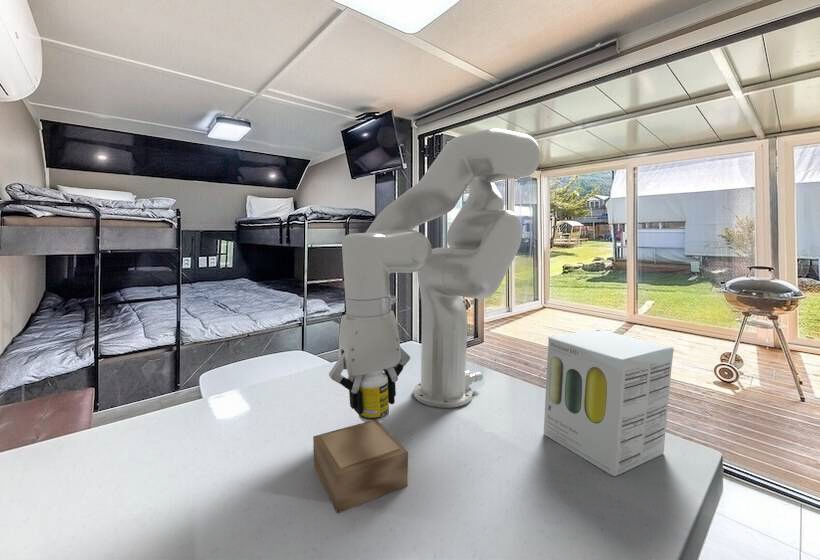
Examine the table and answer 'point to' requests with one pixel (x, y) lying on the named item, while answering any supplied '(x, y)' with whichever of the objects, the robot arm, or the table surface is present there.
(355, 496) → the brown square tray
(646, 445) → the supplement box
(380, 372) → the supplement bottle
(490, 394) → the table surface
